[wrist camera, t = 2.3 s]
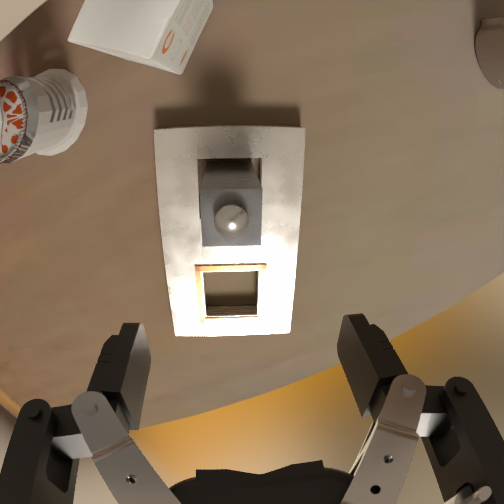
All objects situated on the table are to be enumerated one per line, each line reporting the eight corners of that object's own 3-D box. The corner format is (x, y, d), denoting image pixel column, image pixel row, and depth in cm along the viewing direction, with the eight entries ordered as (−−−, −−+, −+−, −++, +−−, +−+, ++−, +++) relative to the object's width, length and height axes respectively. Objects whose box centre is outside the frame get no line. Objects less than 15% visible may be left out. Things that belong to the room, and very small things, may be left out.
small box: (156, -9, 22) (118, -64, 10) (215, 6, 24) (209, -49, 12) (123, 60, 25) (64, 41, 14) (182, 76, 27) (152, 61, 15)
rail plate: (158, 128, 29) (153, 129, 27) (300, 126, 30) (306, 128, 28) (177, 325, 40) (175, 336, 38) (286, 322, 41) (289, 333, 39)
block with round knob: (207, 162, 31) (198, 192, 21) (251, 162, 31) (263, 191, 22) (208, 204, 33) (201, 251, 23) (251, 203, 33) (262, 250, 24)
